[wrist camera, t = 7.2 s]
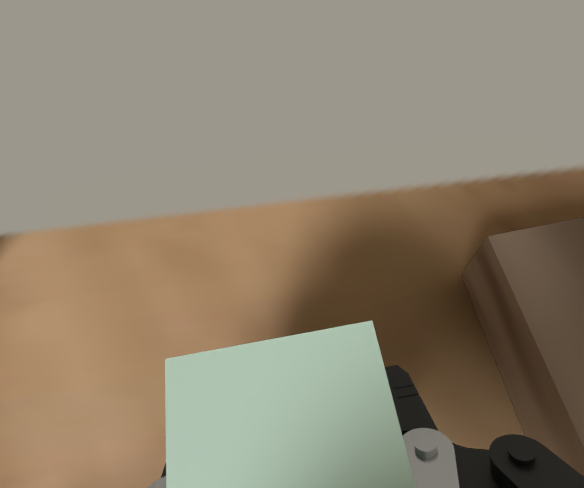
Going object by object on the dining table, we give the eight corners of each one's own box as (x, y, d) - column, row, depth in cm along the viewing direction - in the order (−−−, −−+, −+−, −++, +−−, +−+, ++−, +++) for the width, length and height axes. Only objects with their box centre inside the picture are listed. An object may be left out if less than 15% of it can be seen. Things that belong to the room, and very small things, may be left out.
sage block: (266, 530, 15) (167, 637, 7) (253, 406, 17) (165, 358, 9) (382, 510, 15) (442, 590, 6) (355, 387, 17) (372, 319, 9)
